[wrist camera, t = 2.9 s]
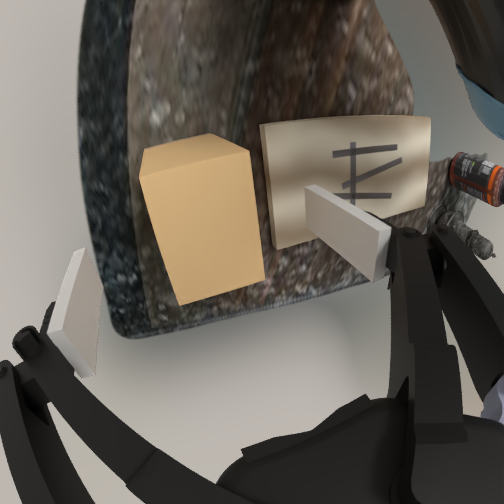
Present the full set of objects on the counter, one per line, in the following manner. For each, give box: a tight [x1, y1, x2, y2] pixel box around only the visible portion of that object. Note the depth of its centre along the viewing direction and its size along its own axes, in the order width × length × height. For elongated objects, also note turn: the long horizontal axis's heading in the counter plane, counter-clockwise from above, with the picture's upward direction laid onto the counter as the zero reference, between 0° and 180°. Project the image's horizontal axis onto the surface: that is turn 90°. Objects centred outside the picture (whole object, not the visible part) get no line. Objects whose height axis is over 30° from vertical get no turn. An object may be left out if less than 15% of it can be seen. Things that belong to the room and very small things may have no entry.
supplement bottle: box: [450, 152, 504, 207], centre depth 29 cm, size 6×6×11 cm
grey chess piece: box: [428, 204, 496, 260], centre depth 32 cm, size 6×6×12 cm
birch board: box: [259, 115, 431, 250], centre depth 28 cm, size 12×22×1 cm, turn 97°
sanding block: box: [139, 133, 265, 306], centre depth 19 cm, size 8×6×10 cm
